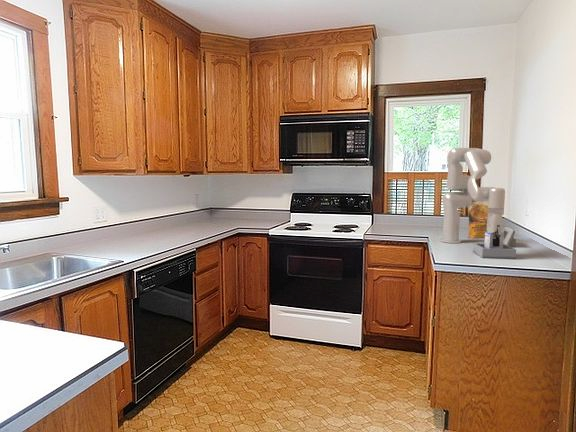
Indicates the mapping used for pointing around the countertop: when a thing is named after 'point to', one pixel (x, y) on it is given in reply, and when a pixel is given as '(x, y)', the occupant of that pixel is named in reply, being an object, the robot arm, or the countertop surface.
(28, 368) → the countertop surface
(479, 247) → the bin
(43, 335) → the countertop surface
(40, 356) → the countertop surface
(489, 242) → the medicine box
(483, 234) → the pancake mix bag
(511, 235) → the digital clock
